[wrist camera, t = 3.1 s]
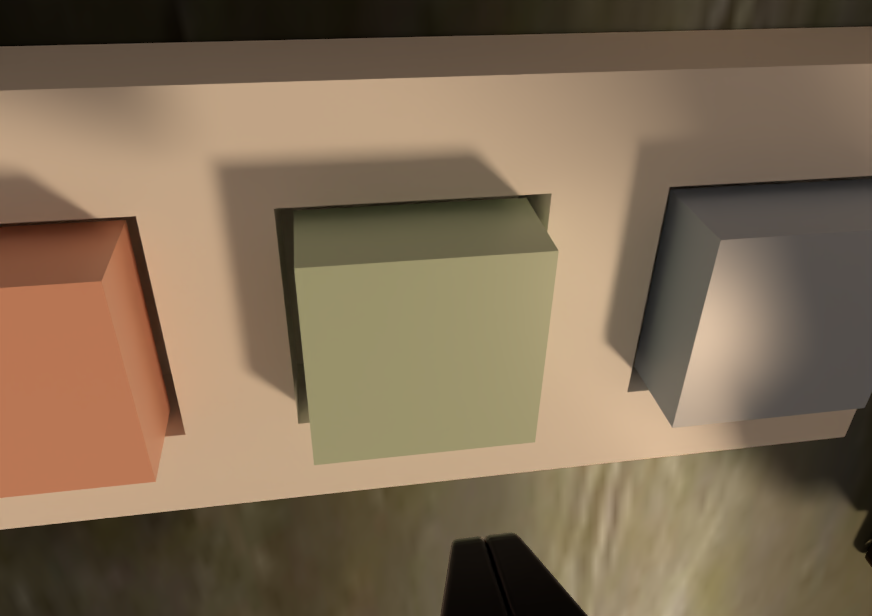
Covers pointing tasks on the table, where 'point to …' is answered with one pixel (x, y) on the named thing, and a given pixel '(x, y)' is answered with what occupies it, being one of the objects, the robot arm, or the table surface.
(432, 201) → the button panel
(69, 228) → the terracotta button
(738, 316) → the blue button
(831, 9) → the table surface
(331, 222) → the green button
